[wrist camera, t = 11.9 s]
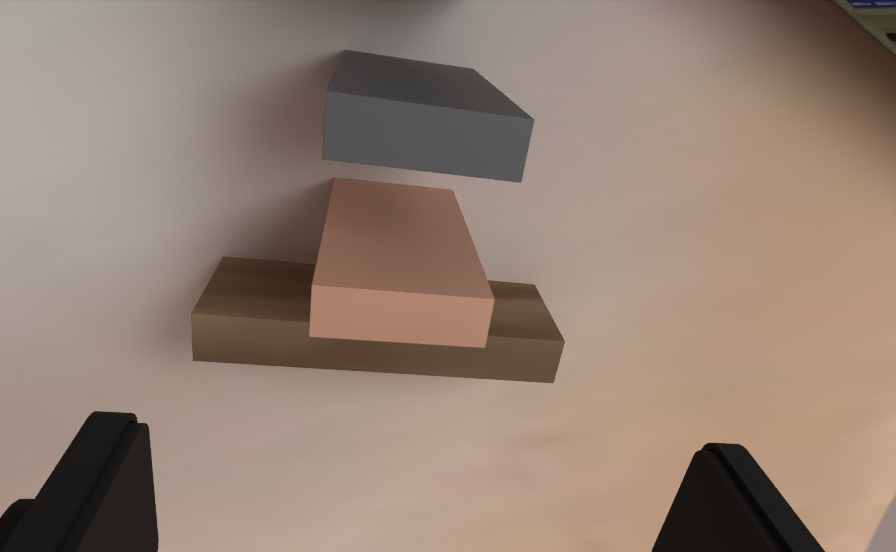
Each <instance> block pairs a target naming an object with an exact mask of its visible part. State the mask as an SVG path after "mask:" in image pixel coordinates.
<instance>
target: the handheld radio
mask: <svg viewBox="0 0 896 552" xmlns="http://www.w3.org/2000/svg"><path fill="white" fill-rule="evenodd" d="M834 1H835V2H836V3H837V4H838V5H839V6H840V7H841V8H843V9H844V10H845V11H846V12H847V13H848V14H849V15H850V16H851V17H853V18H854V19H855V20H856V21H857V22H858V23H859V24H860V25H862V26H863V27H864V28H865V29H866V30H867V31H868V32H870V33H871V34H872V35H873V36H874V37H875V38H876V39H878V40H879V41H880V42H881V43H882V44H883V45H885V46H886V47H887V48H888V49H889V50H890V51H891V52H893V53H894V54H895V55H896V0H834Z"/></svg>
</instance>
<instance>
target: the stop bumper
mask: <svg viewBox="0 0 896 552" xmlns="http://www.w3.org/2000/svg"><path fill="white" fill-rule="evenodd" d="M315 268H316V265H308V264H297V263H286V262H275V261H264V260H253V259H242V258H231V257H223V258H222V260H221V262H220V264H219V265H218V267H217V269H216V271H215V273H214V274H213V276H212V278H211V280H210V281H209V283H208V285H207V287H206V289H205V290H204V292H203V294H202V296H201V297H200V299H199V301H198V303H197V305H196V306H195V308H194V310H193V312H192V313H191V317H192V347H193V361H206V362H223V363H239V364H255V365H271V366H287V367H303V368H319V369H335V370H351V371H367V372H383V373H399V374H415V375H431V376H447V377H463V378H479V379H495V380H511V381H527V382H543V383H554V380H555V376H556V372H557V369H558V365H559V361H560V358H561V354H562V350H563V346H564V343H565V341H564V339H563V337H562V335H561V333H560V331H559V330H558V328H557V326H556V324H555V322H554V320H553V318H552V317H551V315H550V313H549V311H548V309H547V307H546V305H545V303H544V302H543V300H542V298H541V296H540V294H539V292H538V290H537V288H536V287H535V285H530V284H519V283H508V282H497V281H488V283H489V286H490V288H491V291H492V294H493V296H494V299H495V300H494V305H493V310H492V315H491V320H490V325H489V330H488V336H487V341H486V346H485V348H479V347H463V346H448V345H432V344H416V343H401V342H385V341H369V340H353V339H338V338H322V337H309V330H310V311H311V291H312V282H313V277H314V273H315Z"/></svg>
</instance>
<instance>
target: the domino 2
mask: <svg viewBox="0 0 896 552" xmlns="http://www.w3.org/2000/svg"><path fill="white" fill-rule="evenodd" d="M494 300H495V299H494V296H493V294H492V291H491V288H490V286H489V283H488V281H487V278H486V275H485V273H484V270H483V268H482V265H481V262H480V260H479V257H478V254H477V252H476V249H475V247H474V244H473V241H472V239H471V236H470V234H469V231H468V228H467V226H466V223H465V221H464V218H463V215H462V213H461V210H460V208H459V205H458V202H457V200H456V197H455V194H454V192H453V190H447V189H438V188H428V187H419V186H409V185H400V184H390V183H381V182H372V181H362V180H353V179H343V178H334V183H333V188H332V192H331V197H330V202H329V206H328V211H327V216H326V221H325V225H324V230H323V235H322V240H321V244H320V249H319V254H318V258H317V263H316V268H315V273H314V277H313V282H312V291H311V311H310V330H309V337H322V338H338V339H353V340H369V341H385V342H401V343H416V344H432V345H448V346H463V347H479V348H485V346H486V341H487V336H488V330H489V325H490V320H491V315H492V310H493V305H494Z"/></svg>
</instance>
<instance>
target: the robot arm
mask: <svg viewBox="0 0 896 552" xmlns="http://www.w3.org/2000/svg"><path fill="white" fill-rule="evenodd" d="M0 552H158V529H157V517H156V505H155V494H154V482H153V470H152V459H151V447H150V435H149V427H148V425H147V424H146V423H138V422H137V417H136V415H135V414H133V413H119V412H100V411H95V412H93V413H91V414H90V416H89V417H88V418H87V420H86V421H85V423H84V424H83V426H82V427H81V429H80V430H79V432H78V433H77V435H76V436H75V438H74V439H73V441H72V443H71V444H70V446H69V447H68V449H67V450H66V452H65V453H64V455H63V456H62V458H61V459H60V461H59V462H58V464H57V466H56V467H55V469H54V470H53V472H52V473H51V475H50V476H49V478H48V479H47V481H46V482H45V484H44V485H43V487H42V488H41V490H40V492H39V493H38V495H37V496H36V498H35V499H19V500H17V501H16V502H14V503H13V504H11V505H10V507H9V508H8V509H7V510H6V511H5V512H4V514H3V515H2V516H1V518H0ZM652 552H825V551H824V550H823V548H822V547H821V546H820V544H819V543H818V542H817V541H816V539H815V538H814V537H813V535H812V534H811V533H810V531H809V530H808V529H807V528H806V526H805V525H804V524H803V522H802V521H801V520H800V518H799V517H798V516H797V514H796V513H795V512H794V511H793V509H792V508H791V507H790V505H789V504H788V503H787V501H786V500H785V499H784V497H783V496H782V495H781V494H780V492H779V491H778V490H777V488H776V487H775V486H774V484H773V483H772V482H771V480H770V479H769V478H768V477H767V475H766V474H765V473H764V471H763V470H762V469H761V467H760V466H759V465H758V463H757V462H756V461H755V460H754V458H753V457H752V456H751V454H750V453H749V452H748V450H747V449H746V448H745V447H743V446H742V445H739V444H726V443H707V444H706V445H704V446H703V448H702V449H701V451H697V452H696V453H695V454H694V456H693V458H692V460H691V463H690V465H689V467H688V469H687V472H686V474H685V476H684V478H683V481H682V483H681V485H680V488H679V490H678V492H677V494H676V497H675V499H674V501H673V503H672V506H671V508H670V510H669V512H668V515H667V517H666V519H665V522H664V524H663V526H662V528H661V531H660V533H659V535H658V537H657V540H656V542H655V544H654V547H653V549H652Z"/></svg>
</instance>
